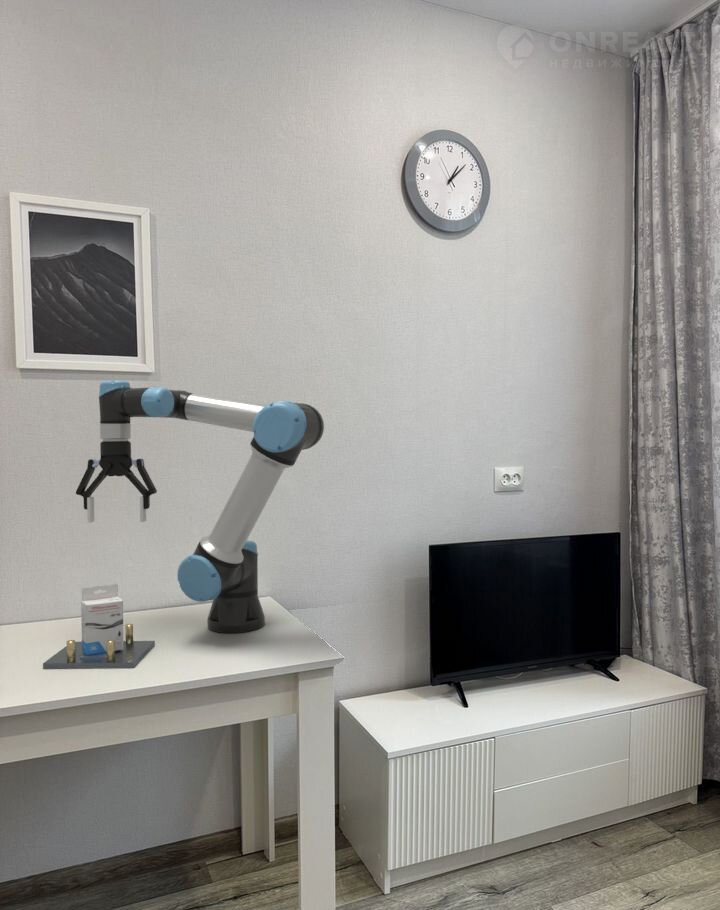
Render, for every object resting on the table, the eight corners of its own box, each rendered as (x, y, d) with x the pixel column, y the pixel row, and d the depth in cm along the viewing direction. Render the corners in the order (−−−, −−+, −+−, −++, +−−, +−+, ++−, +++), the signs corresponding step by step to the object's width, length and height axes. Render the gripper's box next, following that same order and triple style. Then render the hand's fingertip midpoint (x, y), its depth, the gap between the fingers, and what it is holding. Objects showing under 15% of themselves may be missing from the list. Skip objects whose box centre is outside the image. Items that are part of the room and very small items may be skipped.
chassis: (154, 645, 169) (154, 622, 168) (134, 667, 153) (133, 642, 152) (72, 646, 168) (71, 623, 168) (43, 668, 152) (42, 643, 152)
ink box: (85, 656, 156) (84, 591, 156) (81, 650, 160) (80, 587, 160) (124, 649, 161) (123, 586, 160) (119, 644, 165) (118, 583, 164)
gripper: (167, 439, 184) (168, 519, 184) (73, 440, 184) (74, 520, 184) (159, 440, 176) (161, 523, 177) (61, 441, 176) (63, 524, 177)
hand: (117, 521), depth 181 cm, fingers open, 13 cm apart
